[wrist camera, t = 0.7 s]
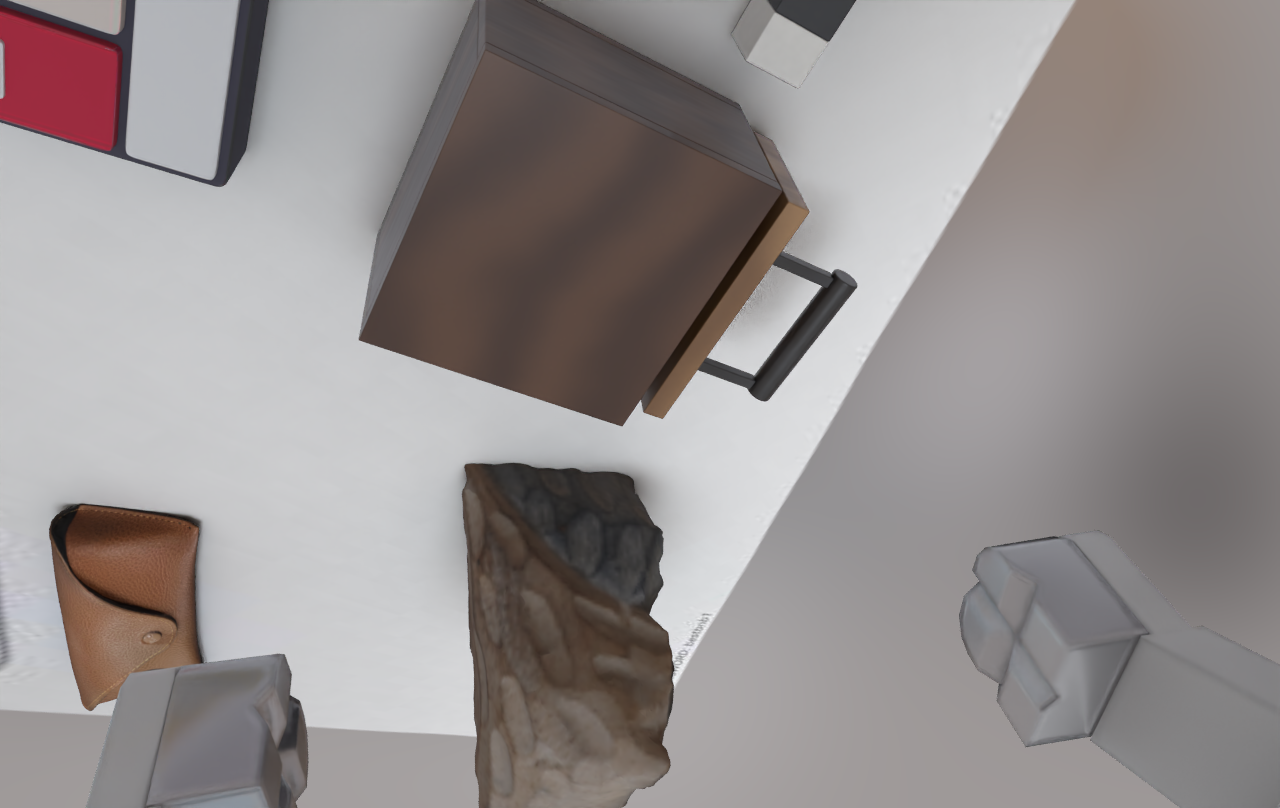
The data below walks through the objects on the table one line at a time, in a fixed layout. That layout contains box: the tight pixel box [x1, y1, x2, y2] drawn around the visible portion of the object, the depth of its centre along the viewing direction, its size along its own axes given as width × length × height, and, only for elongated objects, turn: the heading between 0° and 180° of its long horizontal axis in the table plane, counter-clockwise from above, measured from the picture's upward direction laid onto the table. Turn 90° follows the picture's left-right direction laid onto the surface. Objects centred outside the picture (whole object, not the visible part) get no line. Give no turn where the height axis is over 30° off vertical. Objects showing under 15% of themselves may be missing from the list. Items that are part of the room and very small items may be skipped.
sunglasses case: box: [49, 504, 203, 711], centre depth 64 cm, size 18×7×7 cm
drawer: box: [641, 132, 857, 419], centre depth 47 cm, size 18×13×7 cm
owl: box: [462, 463, 674, 808], centre depth 58 cm, size 13×13×20 cm
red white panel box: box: [0, 0, 269, 187], centre depth 38 cm, size 11×4×15 cm
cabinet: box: [359, 0, 782, 426], centre depth 45 cm, size 14×15×9 cm
